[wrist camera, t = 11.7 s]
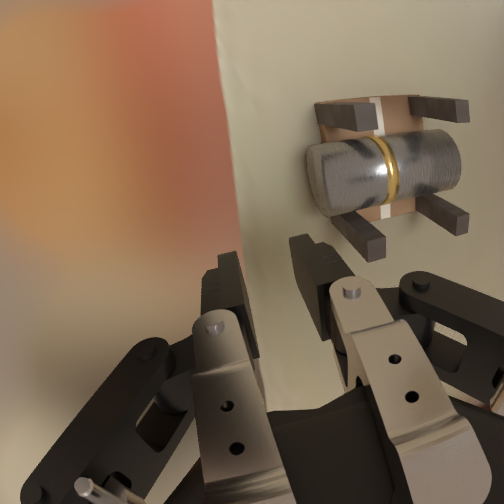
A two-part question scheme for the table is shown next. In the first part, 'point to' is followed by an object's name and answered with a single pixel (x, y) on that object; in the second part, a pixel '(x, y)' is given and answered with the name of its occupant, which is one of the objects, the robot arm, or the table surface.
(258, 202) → the table surface
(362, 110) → the cylinder holder stand
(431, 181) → the grey cylinder
